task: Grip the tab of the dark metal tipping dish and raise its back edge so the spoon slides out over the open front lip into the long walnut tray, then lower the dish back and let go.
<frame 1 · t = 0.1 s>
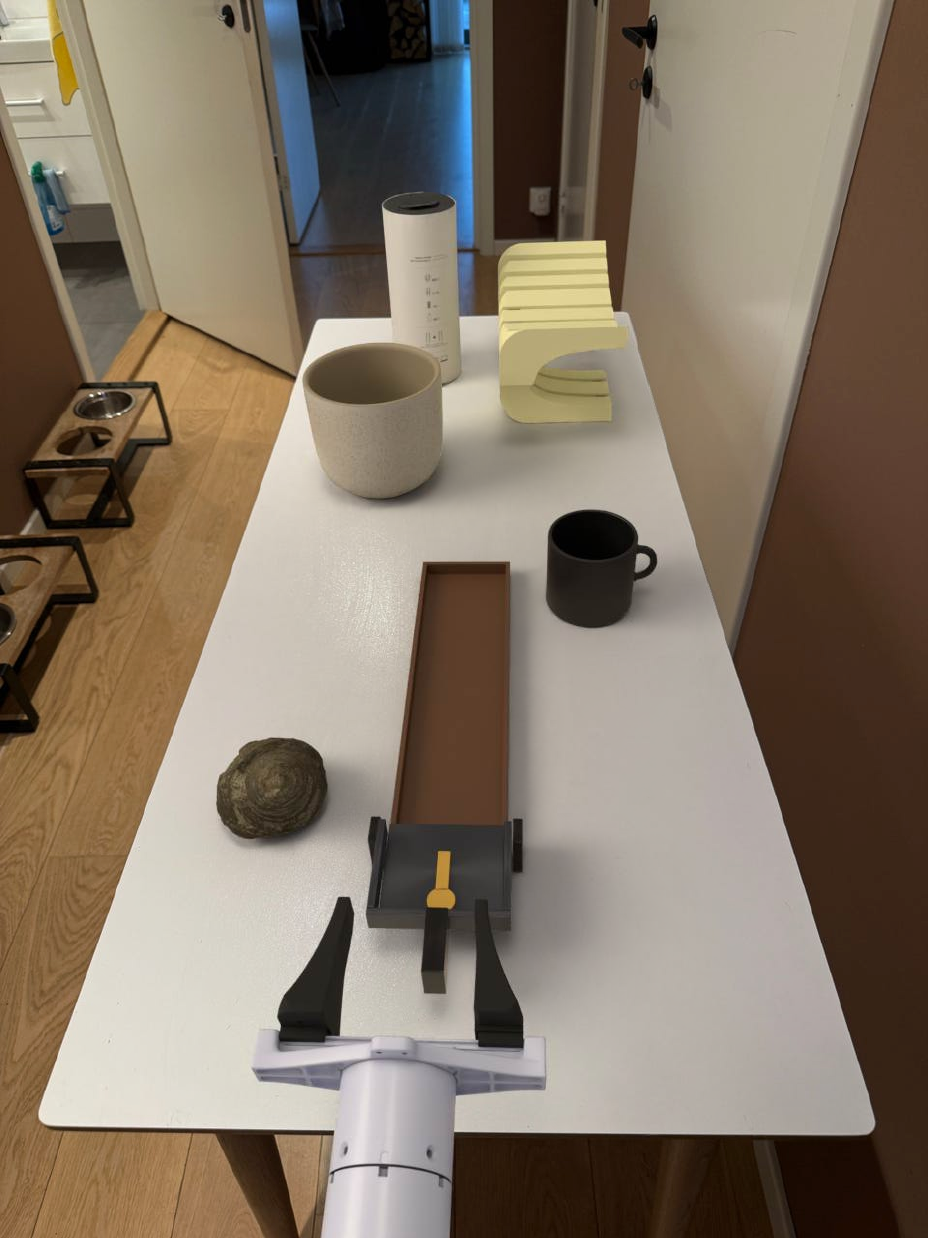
hand: (413, 906, 52), 20 cm above the table, tool horizontal, fingers open, 7 cm apart
tray: (458, 696, 92), on the table
spoon: (442, 882, 73), point 3 cm above the table, touching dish
bracket: (448, 858, 78), resting in tray
mug: (599, 600, 103), on the table
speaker: (429, 374, 145), on the table
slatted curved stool: (553, 401, 137), on the table
seashell: (278, 791, 84), on the table
planter: (383, 479, 123), on the table
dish: (440, 893, 70), point 5 cm above the table, hinge at -0.1°, touching spoon
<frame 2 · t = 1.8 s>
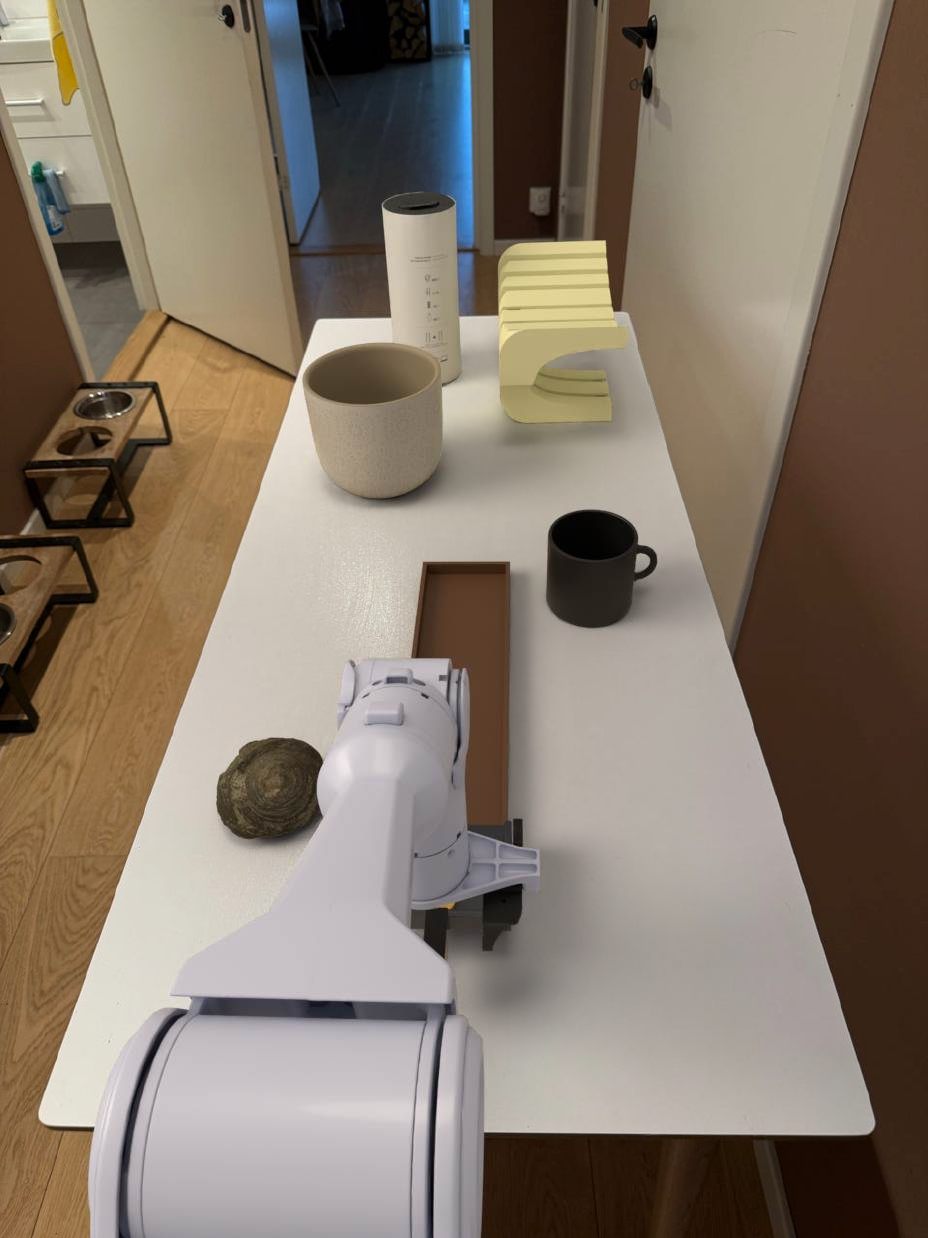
hand: (432, 936, 64), 8 cm above the table, tool pointing down, fingers open, 7 cm apart
nothing on the table moved.
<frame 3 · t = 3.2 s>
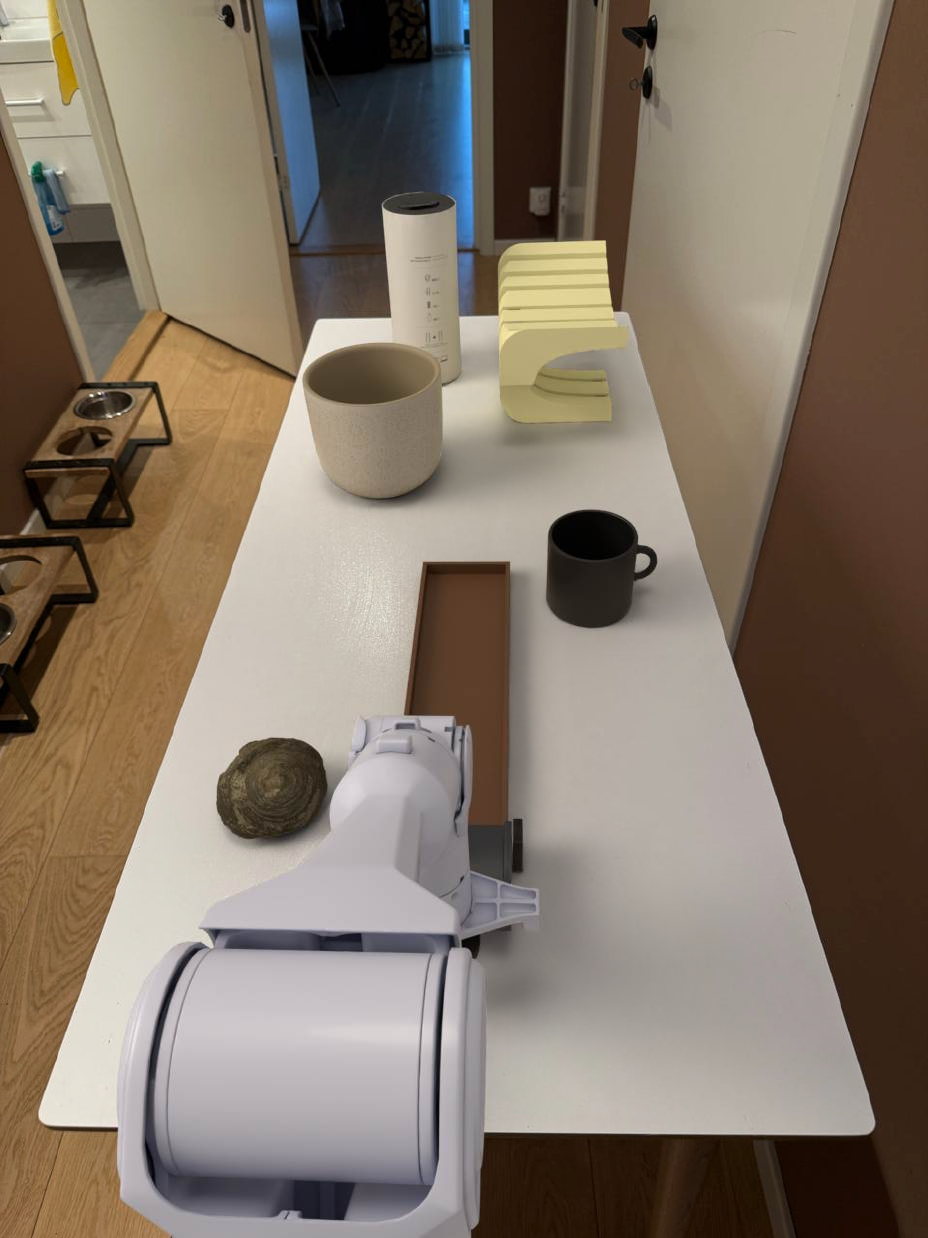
hand: (436, 969, 67), 4 cm above the table, tool pointing down, fingers closed on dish, 2 cm apart
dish: (440, 893, 70), point 5 cm above the table, hinge at -0.1°, touching gripper, spoon
everything else where it was.
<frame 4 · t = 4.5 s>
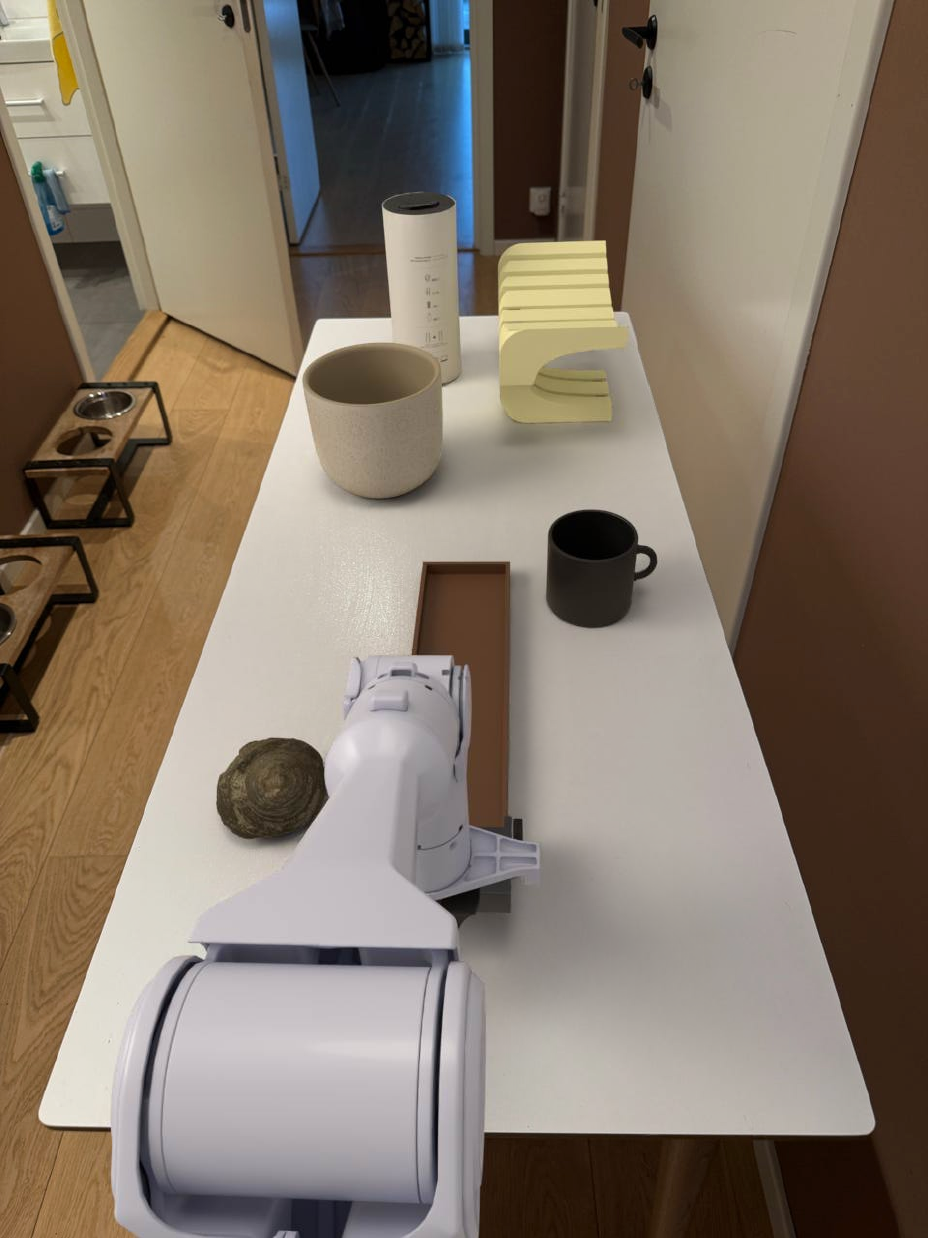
hand: (434, 929, 65), 7 cm above the table, tool pointing down, fingers closed on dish, 2 cm apart
spoon: (443, 856, 74), point 4 cm above the table, tilted 14°
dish: (439, 876, 70), point 6 cm above the table, hinge at 13.8°, touching gripper
everything else where it was.
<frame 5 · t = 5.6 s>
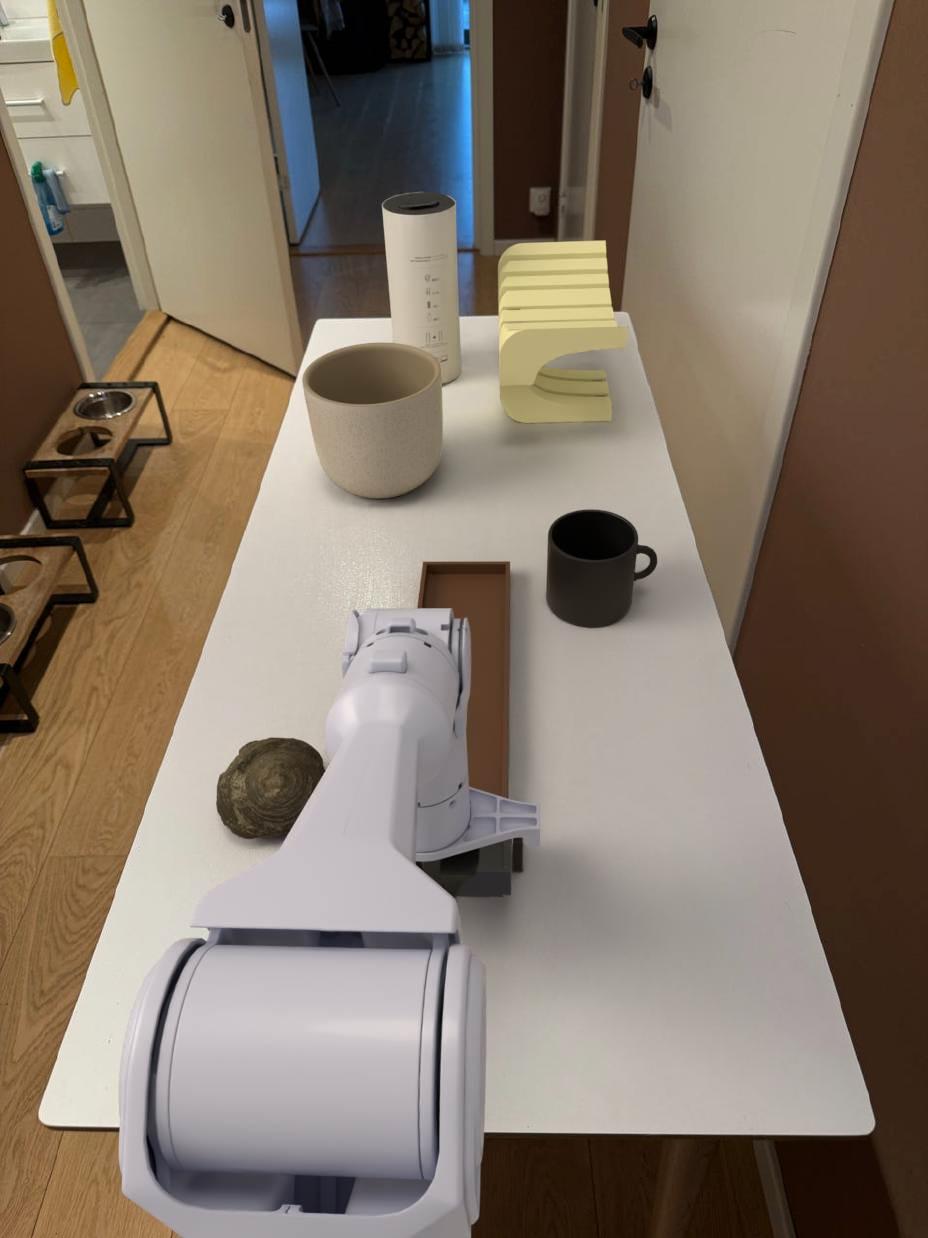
hand: (434, 894, 65), 10 cm above the table, tool pointing down, fingers closed on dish, 2 cm apart
spoon: (449, 820, 81), resting on tray
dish: (439, 861, 70), point 7 cm above the table, hinge at 24.7°, touching gripper
everything else where it was.
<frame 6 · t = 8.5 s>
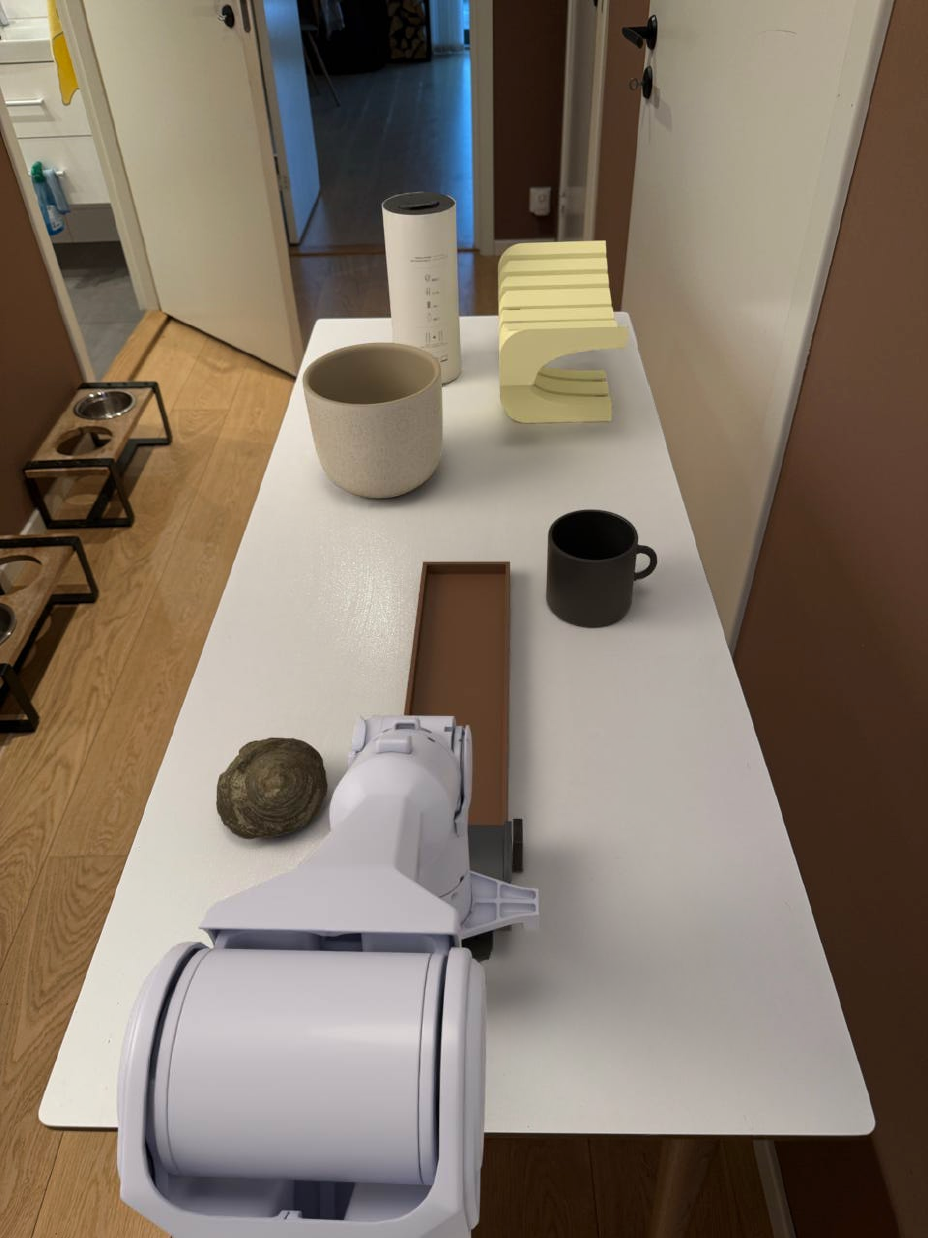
hand: (436, 969, 67), 4 cm above the table, tool pointing down, fingers open, 3 cm apart
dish: (440, 893, 70), point 5 cm above the table, hinge at -0.2°
everything else where it was.
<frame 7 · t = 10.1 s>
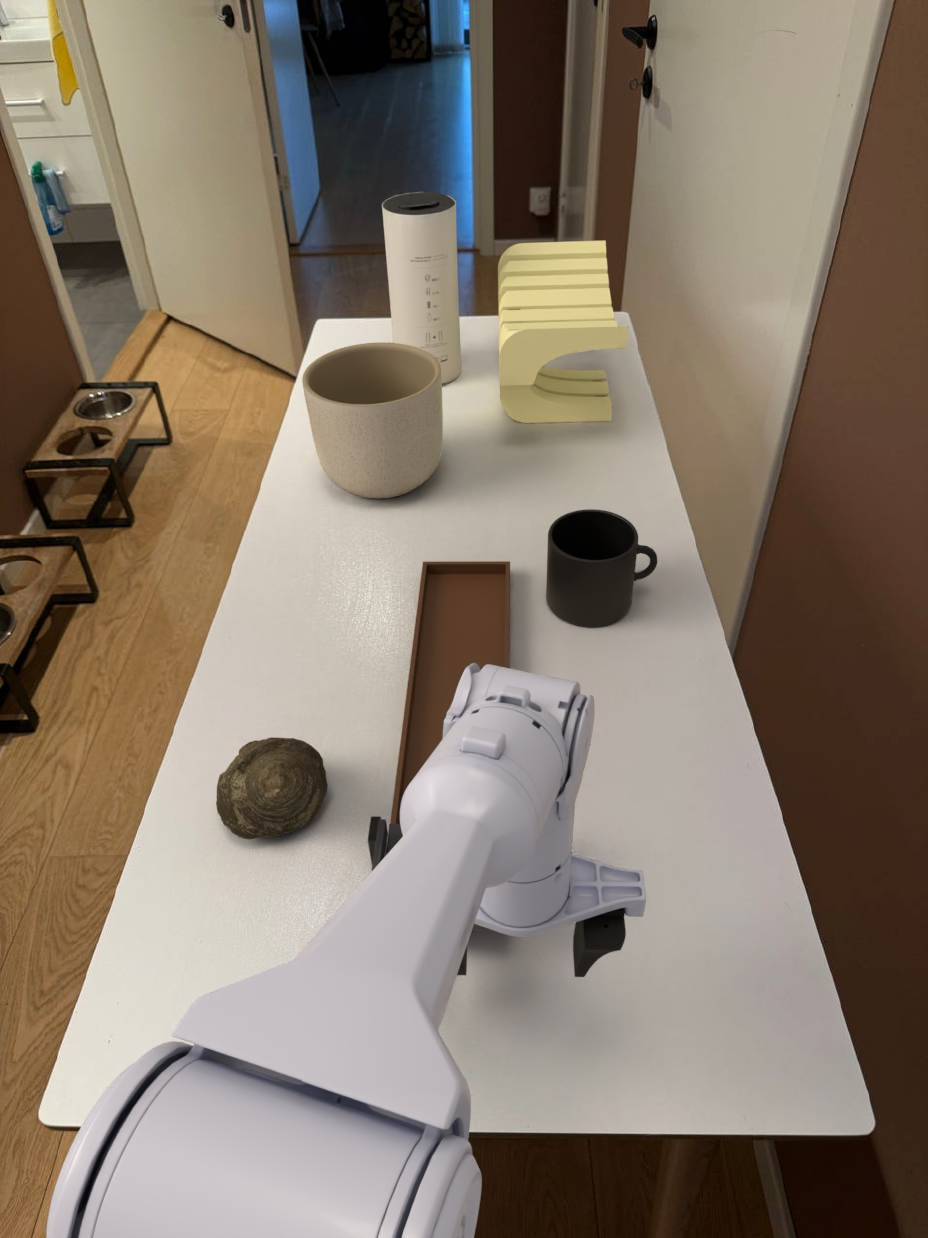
hand: (520, 961, 61), 10 cm above the table, tool pointing down, fingers open, 7 cm apart
nothing on the table moved.
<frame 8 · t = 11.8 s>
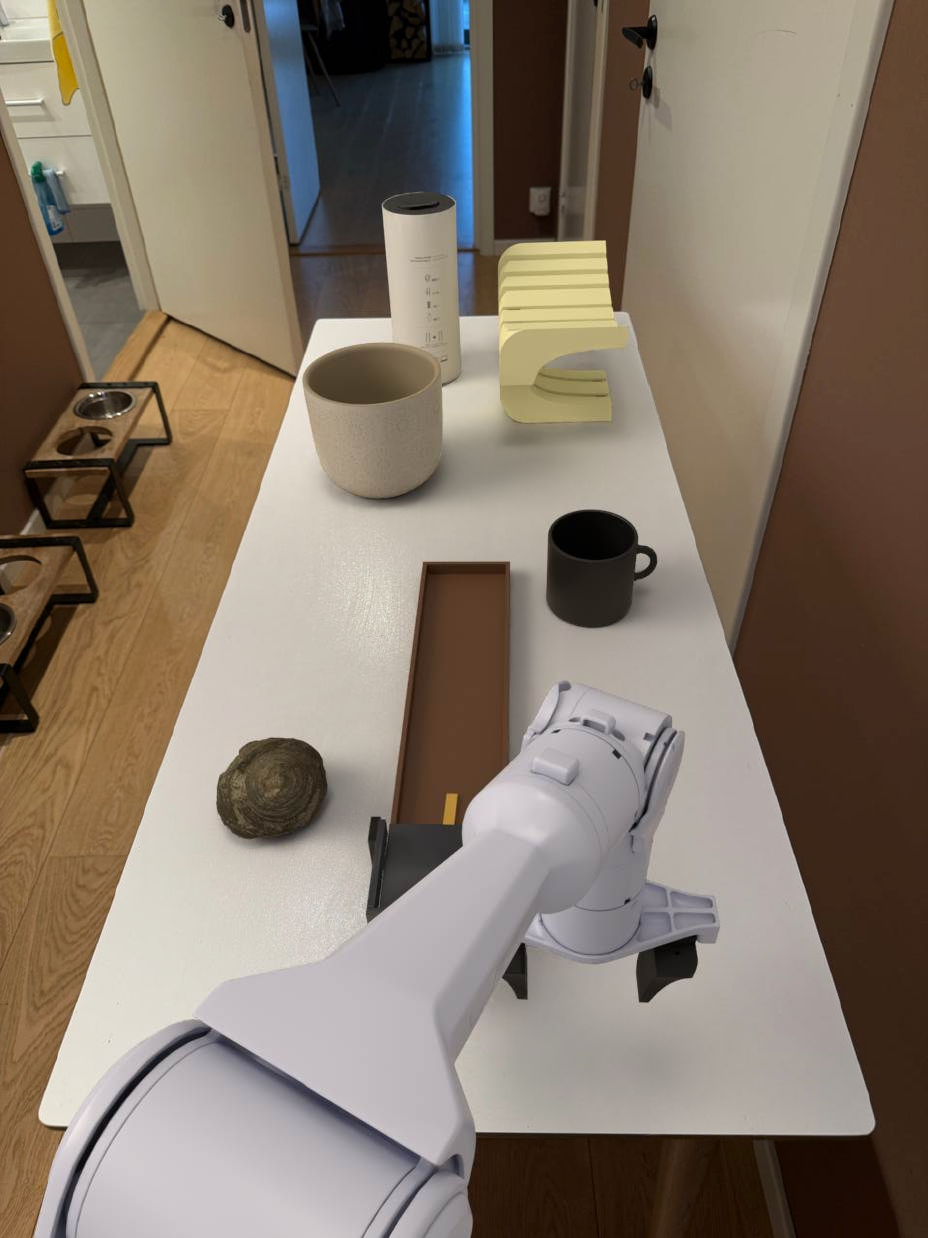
hand: (582, 986, 59), 10 cm above the table, tool pointing down, fingers open, 7 cm apart
nothing on the table moved.
at the end: spoon inside the target area in the tray (15.3 cm from its centre), point 0.4 cm above the tray's base; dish reached +25° during the clip, +0° at the end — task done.
